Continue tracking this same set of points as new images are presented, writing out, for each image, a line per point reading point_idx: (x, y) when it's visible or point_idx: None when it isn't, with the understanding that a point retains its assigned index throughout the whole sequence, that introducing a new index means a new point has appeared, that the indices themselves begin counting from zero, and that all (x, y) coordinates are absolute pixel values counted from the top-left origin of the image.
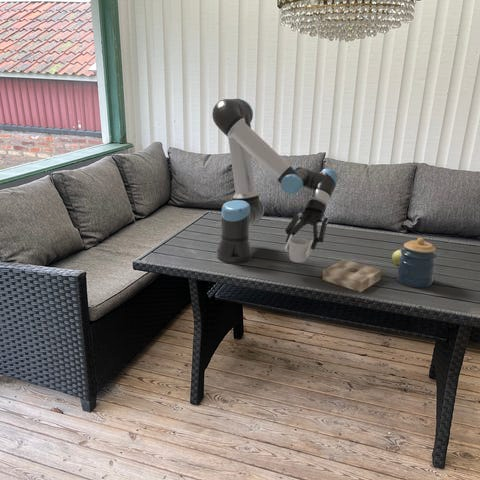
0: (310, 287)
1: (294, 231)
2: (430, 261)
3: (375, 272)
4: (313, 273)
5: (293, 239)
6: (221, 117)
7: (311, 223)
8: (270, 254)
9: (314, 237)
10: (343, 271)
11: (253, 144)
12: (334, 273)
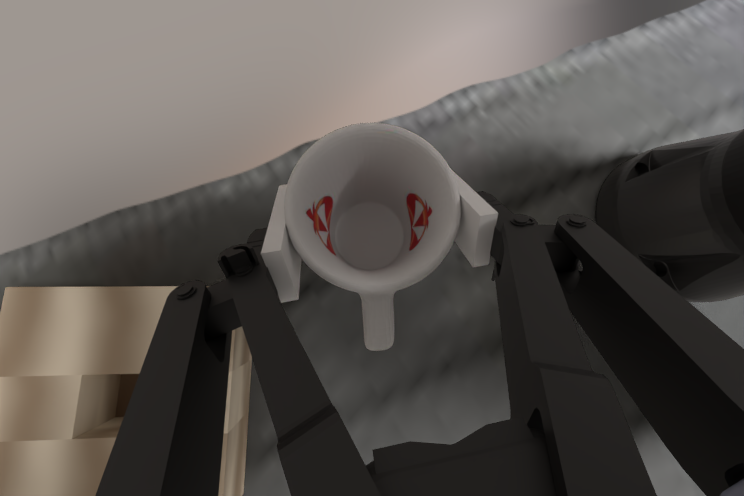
0: (253, 186)
1: (504, 258)
2: None
3: None
4: (321, 319)
5: (444, 217)
6: None
7: (396, 454)
8: (601, 369)
9: (255, 274)
10: (141, 344)
11: None
12: (170, 286)
